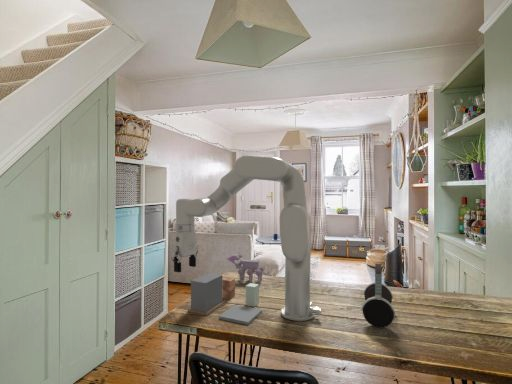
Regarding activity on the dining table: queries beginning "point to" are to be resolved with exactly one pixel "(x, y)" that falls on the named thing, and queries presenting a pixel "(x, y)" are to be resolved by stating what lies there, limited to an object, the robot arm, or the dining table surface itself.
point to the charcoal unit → (206, 294)
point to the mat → (240, 314)
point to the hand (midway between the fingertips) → (185, 269)
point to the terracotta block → (228, 288)
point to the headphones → (378, 302)
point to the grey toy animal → (247, 267)
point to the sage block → (252, 294)
